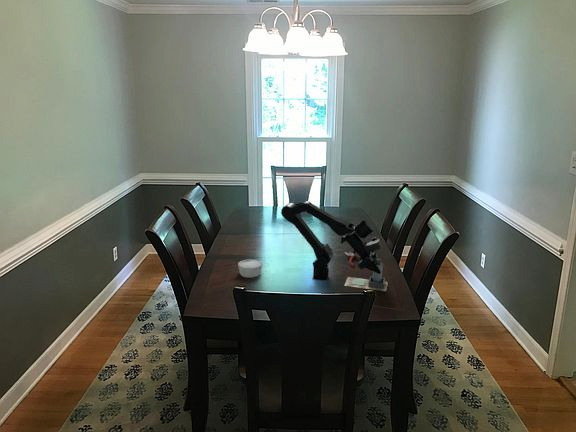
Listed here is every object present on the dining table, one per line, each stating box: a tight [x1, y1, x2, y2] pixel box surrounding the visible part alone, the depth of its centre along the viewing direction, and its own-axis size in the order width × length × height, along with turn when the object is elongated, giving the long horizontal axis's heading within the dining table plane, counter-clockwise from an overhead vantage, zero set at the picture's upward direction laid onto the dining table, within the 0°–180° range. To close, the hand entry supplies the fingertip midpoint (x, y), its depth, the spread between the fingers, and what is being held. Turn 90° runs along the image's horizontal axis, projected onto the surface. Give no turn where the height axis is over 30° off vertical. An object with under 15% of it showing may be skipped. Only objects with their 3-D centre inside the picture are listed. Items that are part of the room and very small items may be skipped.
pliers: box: [344, 251, 361, 269], centre depth 231 cm, size 12×20×3 cm, turn 16°
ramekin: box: [237, 259, 263, 279], centre depth 212 cm, size 11×11×5 cm
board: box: [344, 276, 389, 292], centre depth 203 cm, size 18×10×1 cm, turn 74°
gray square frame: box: [368, 275, 386, 289], centre depth 201 cm, size 7×7×2 cm
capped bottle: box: [372, 258, 384, 283], centre depth 200 cm, size 4×4×12 cm
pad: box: [351, 279, 365, 286], centre depth 204 cm, size 6×6×1 cm
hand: (380, 271), depth 200 cm, fingers closed on capped bottle, 4 cm apart
